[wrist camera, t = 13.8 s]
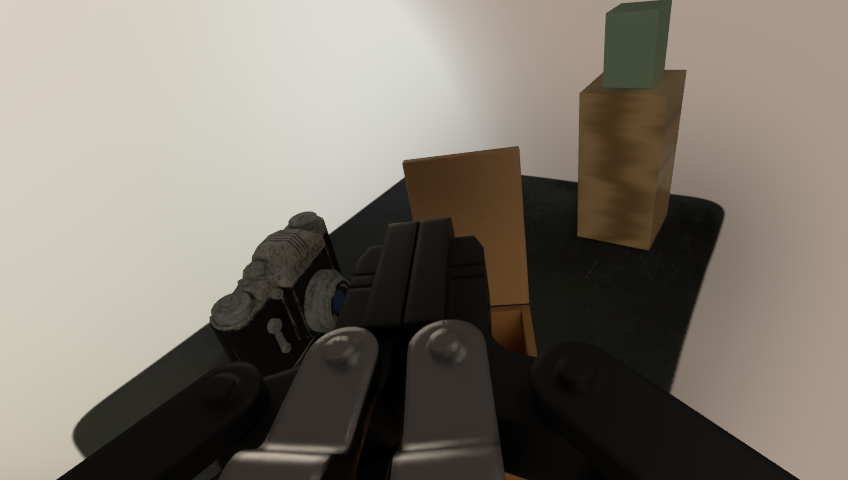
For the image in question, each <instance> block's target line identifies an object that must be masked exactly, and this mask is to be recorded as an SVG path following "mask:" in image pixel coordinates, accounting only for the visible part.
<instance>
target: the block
mask: <svg viewBox="0 0 848 480" xmlns="http://www.w3.org/2000/svg"><path fill="white" fill-rule="evenodd" d="M671 4H672V0H658V1H646V2H634V3H622V4H620V5H618V6H617V7H615V8H614V9H612V10H611V11H609V12H607V13H606V24H605V49H604V72H603V88H645V89H652V88H653V86H654V85H655V84H656V83H657V82H658V81H659V79H660V78H661V77H662V76H663V75H664V68H665V58H666V49H667V41H668V31H669V23H670V22H669V21H670V13H671Z"/></svg>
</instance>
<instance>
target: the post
mask: <svg viewBox="0 0 848 480" xmlns="http://www.w3.org/2000/svg"><path fill="white" fill-rule="evenodd" d="M685 78H686V70H664V75H663V76H662V77H661V78H660V79H659V81H658V82H657V83H656V84H655V85H654V86H653V88H652V89H645V88H603V73H602V74H601V75H600V76H599V77H598V78H596V79H595V80H594V81H593V82H592V83H591V84H590V85H588V86H587V87H586V88H585V89H584V90H583V91H582V92H580V99H579V101H580V102H579V103H580V104H579V164H578V230H577V236H579V237H584V238H589V239H594V240H599V241H604V242H609V243H614V244H619V245H624V246H629V247H634V248H639V249H644V250H650V248H651V246H652V244H653V242H654V240H655V238H656V236H657V234H658V232H659V230H660V228H661V226H662V224H663V222H664V220H665V218H666V216H667V211H668V203H669V196H670V188H671V181H672V174H673V166H674V159H675V152H676V144H677V137H678V129H679V122H680V115H681V107H682V99H683V93H684V85H685Z"/></svg>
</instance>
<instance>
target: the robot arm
mask: <svg viewBox="0 0 848 480" xmlns="http://www.w3.org/2000/svg"><path fill="white" fill-rule="evenodd" d="M491 325H492V324H491V306H490V293H489V286H488V278H487V270H486V262H485V255H484V247H483V246H482V245H481V243H480V242H479V241H478V240H477V238H476V237H475V236H474V235H473V236H464V237H455V234H454V228H453V223H452V219H451V217H448V218H439V219H430V220H421V221H413V222H404V223H395V224H389V226H388V229H387V232H386V236H385V240H384V243H383V245H378V246H370V247H369V248H368V249H367V250H366V251H365V252H364V254H363V255H362V256H361V257H360V258H359V259H358V260H357V263H356V266H355V269H354V272H353V277H352V278H351V281H350V284H349V289H348V290H347V293H346V296H345V299H344V302H343V305H342V308H341V311H340V313H339V316H338V319H337V322H336V325H335V328H334V331H331V332H329V333H327V334H325V335H324V336H322V337H321V338H319V339H318V340H317V341H316V342H315V343H314V344H313V345H312V346H311V347H310V348H309V350H308V352H307V353H306V355H305V357H304V360H303V362H302V364H301V365H299V366H297V367H294V368H291V369H288V370H285V371H282V372H279V373H276V374H273V375H270V376H267V377H264V378H262V376H261V374H260V372H259V370H258V369H257V368H256V367H255V366H254V365H252V364H250V363H247V362H232V363H228V364H224V365H222V366H219V367H217V368H215V369H213V370H211V371H210V372H208V373H206V374H205V375H203V376H202V377H201V378H199V379H198V380H196V381H195V382H194V383H192V384H191V385H189V386H188V387H187V388H185V389H184V390H182V391H181V392H180V393H178V394H177V395H175V396H174V397H172V398H171V399H170V400H168V401H167V402H165V403H164V404H163V405H161V406H160V407H158V408H157V409H156V410H154V411H153V412H151V413H150V414H148V415H147V416H146V417H144V418H143V419H141V420H140V421H139V422H137V423H136V424H134V425H133V426H132V427H130V428H129V429H127V430H126V431H124V432H123V433H122V434H120V435H119V436H117V437H116V438H115V439H113V440H112V441H110V442H109V443H108V444H106V445H105V446H103V447H102V448H101V449H99V450H98V451H96V452H95V453H93V454H92V455H91V456H89V457H88V458H86V459H85V460H84V461H82V462H81V463H79V464H78V465H77V466H75V467H74V468H72V469H71V470H69V471H68V472H67V473H65V474H64V475H62V476H61V477H60V478H58V479H57V480H192V479H194V478H195V477H196V476H197V475H198V474H200V473H201V472H202V471H203V470H204V469H206V468H207V467H208V466H209V465H210V464H212V463H213V462H215V463H216V465H217V466H218V467H219V469H220V470H221V471H220V472H219V473H218V474H216V475H215V476H214V477H213V478H212V479H211V480H506V479H505V473H508V474H512V475H515V476H518V477H521V478H524V479H527V480H799V479H798V478H796V477H795V476H793V475H792V474H790V473H789V472H787V471H786V470H784V469H783V468H781V467H780V466H778V465H777V464H775V463H774V462H772V461H771V460H769V459H768V458H766V457H765V456H763V455H762V454H760V453H759V452H757V451H756V450H754V449H753V448H751V447H750V446H748V445H747V444H745V443H744V442H742V441H741V440H739V439H737V438H736V437H734V436H733V435H731V434H730V433H728V432H727V431H725V430H724V429H722V428H721V427H719V426H717V425H716V424H715V423H713V422H712V421H710V420H709V419H707V418H706V417H704V416H703V415H701V414H700V413H698V412H697V411H695V410H694V409H692V408H691V407H689V406H688V405H686V404H685V403H683V402H682V401H680V400H679V399H677V398H676V397H674V396H673V395H671V394H670V393H668V392H666V391H665V390H663V389H662V388H660V387H659V386H657V385H656V384H654V383H653V382H651V381H650V380H648V379H647V378H645V377H644V376H642V375H641V374H639V373H638V372H636V371H635V370H633V369H632V368H630V367H629V366H627V365H626V364H624V363H623V362H621V361H620V360H618V359H617V358H615V357H614V356H612V355H611V354H609V353H608V352H606V351H604V350H602V349H601V348H599V347H596V346H594V345H590V344H587V343H581V342H563V343H559V344H555V345H552V346H550V347H548V348H546V349H545V350H543V351H542V352H541V353H540V354H538V356H537V357H534V356H529V355H525V354H520V353H516V352H513V351H511V350H508V349H507V348H505V347H503V346H501V345H500V344H499V343H498V342H496V340H495V339H494V338H493V337H492V326H491Z"/></svg>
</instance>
